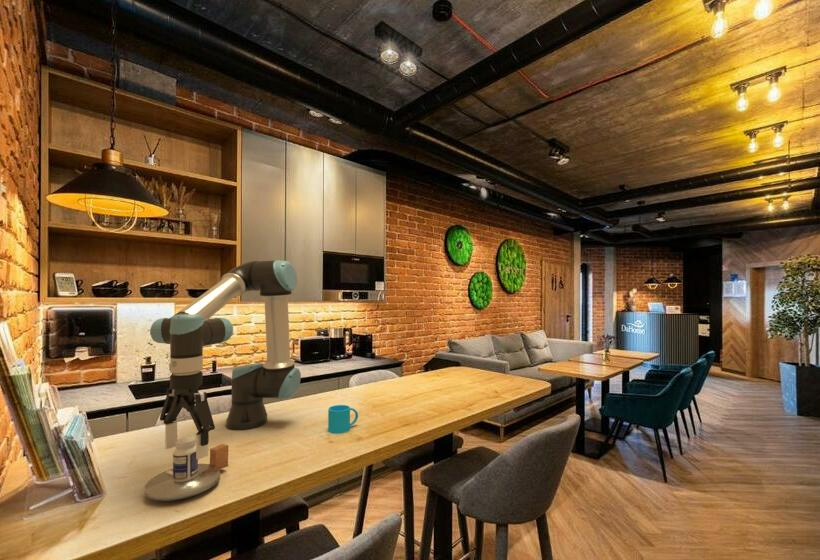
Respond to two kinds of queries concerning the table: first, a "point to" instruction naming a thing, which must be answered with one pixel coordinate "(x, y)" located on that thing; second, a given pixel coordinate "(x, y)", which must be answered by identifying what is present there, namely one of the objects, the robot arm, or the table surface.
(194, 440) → the pill bottle
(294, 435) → the table surface
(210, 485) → the disc
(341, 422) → the mug
